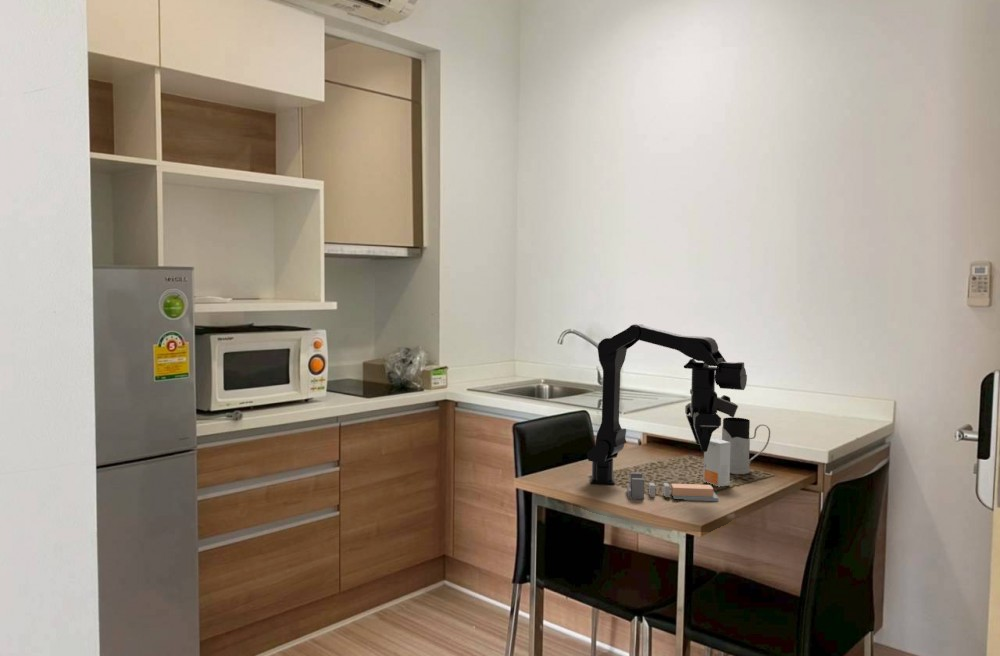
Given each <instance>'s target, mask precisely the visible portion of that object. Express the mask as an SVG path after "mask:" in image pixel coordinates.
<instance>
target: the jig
mask: <svg viewBox="0 0 1000 656" xmlns="http://www.w3.org/2000/svg"><path fill="white" fill-rule="evenodd" d="M629 478H630V482H629V483H628V482H627V483H626V492H627V497H628V499H630V500H631V499H634V500H645V478H643V472H637V471H636V472H630V475H629ZM663 493H664V495H663V497H664V496H665V497H670V494H671V486H670V484H669V483H668V482H664V483H663ZM648 495H650V496H649V497H650V498H655V496H656V484H655V482H649V483H648ZM665 497H664V498H665Z"/></svg>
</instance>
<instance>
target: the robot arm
mask: <svg viewBox="0 0 1000 656" xmlns="http://www.w3.org/2000/svg"><path fill="white" fill-rule="evenodd" d="M639 341H641V342H644V343H648V344H651V345H652V344H653V345H656V346H659V347H664V348H668V349H672V350H675V351H678V352H679V353H681V354H683V355H684V356H686V357H688V358H691V359H689V360H688V362H687V363H685V364H684V365H683V369H688V370H689V369H691V387H690V389H689V394H690V402H688V403H687V404H686V405H685V407H684V409H685V412H684V413H685V414H686V415H685V416H686V419H687V421H688V424H689V427H690V430H691V432H692V436H693V438H694V440H695V444H697V445H699V446H700V450H701V452H702V453H704V452H707V449H708V446H709V442H710V439H712V438H711V437H712V435H713V432H715V431H716V430H717V429H719V428H720V427H721V426H722V417H720V415H719V414H718V412H719V413H722V414H725V415H727V416H729V417H734V418H735V415H736V413H737V410H738V408H739V405H737V404H736V403H734V402H732V401H731V397H730V396H727V395H725V394H723V395H722V396H720V397H719V396H718V393H717V392H716V388H715V386H718V387H719V388H720V389H723V390H738V391H739V390H740V391H744V390H745V389H746V386H747V382H748V381H747V380H748V374H747V372H746V368H745V362H743V361H742V362H740V361H738V362H730V361H729V362H728V361H726V359H725V358H724V356H723V355H722V353H721V352H720V351H719V346H718V345H719V344H718V343H717V341H716V340H715V339H714V338H712V337H709V336H696V335H695V336H694V335H692V336H691V335H681V334H677V333H673V332H670V331H666V330H661V329H658V328H654V327H651V326H646V325H644V324H641V323H635V324H631V325H629V327H628V328H626V329H624V330H622V331H621V332H618V333H617V334H615V335H613V336H611V337H608V338H607V337H605V338H603V339H601V341H600V342H599V343H598V345H597V355H598V361H599V363H600V367H601V368H602V399H601V402H602V403H601V423H600V426H599V428H598V430H597V433H596V438H595V443H594V446H593V447H592V448H590V450H589V451H588V452H586V457H587V460H588V461H589V462H591V465H592V466H591V476H590V477H589V480H590V484H597V485H598V484H599V485H600V484H601V485H615V482H616V481H615V477H614V459H615V458H617V457H618V455H619V452H621V451H622V450H623V449H624V446H625V444H627V440H626V435H627V429H626V428H622V427H621V424H620V398H621V394H620V391H621V370H622V369H623V368H622V367H623V366H624V363H625V361H626V356H627V351H628V349H629V348H630V349H631V347H633V346H634V345H635V344H636V343H637V342H639Z"/></svg>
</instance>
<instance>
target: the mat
mask: <svg viewBox="0 0 1000 656" xmlns="http://www.w3.org/2000/svg"><path fill="white" fill-rule="evenodd" d="M671 493H672V492H671V491H670V494H671ZM672 496H673V497H672ZM671 497H672V499H673V498H674V499H684V500H683V501H698V502H699V501H700V502H701V501H702V502H703V501H705V502H719V496H718V495H717V494H716V492H715V491H713V497H704V496H676V495H673V494H671ZM674 499H673V500H674Z"/></svg>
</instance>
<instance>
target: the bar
mask: <svg viewBox="0 0 1000 656" xmlns="http://www.w3.org/2000/svg"><path fill="white" fill-rule="evenodd" d="M670 485H671V486H670V493H671V492H672V494H673V495H676V496H704V497H713V492H714V488H713V486H712V484H695V483H693V484H692V483H688V484H687V483H671V484H670ZM672 494H671V495H672Z"/></svg>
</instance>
